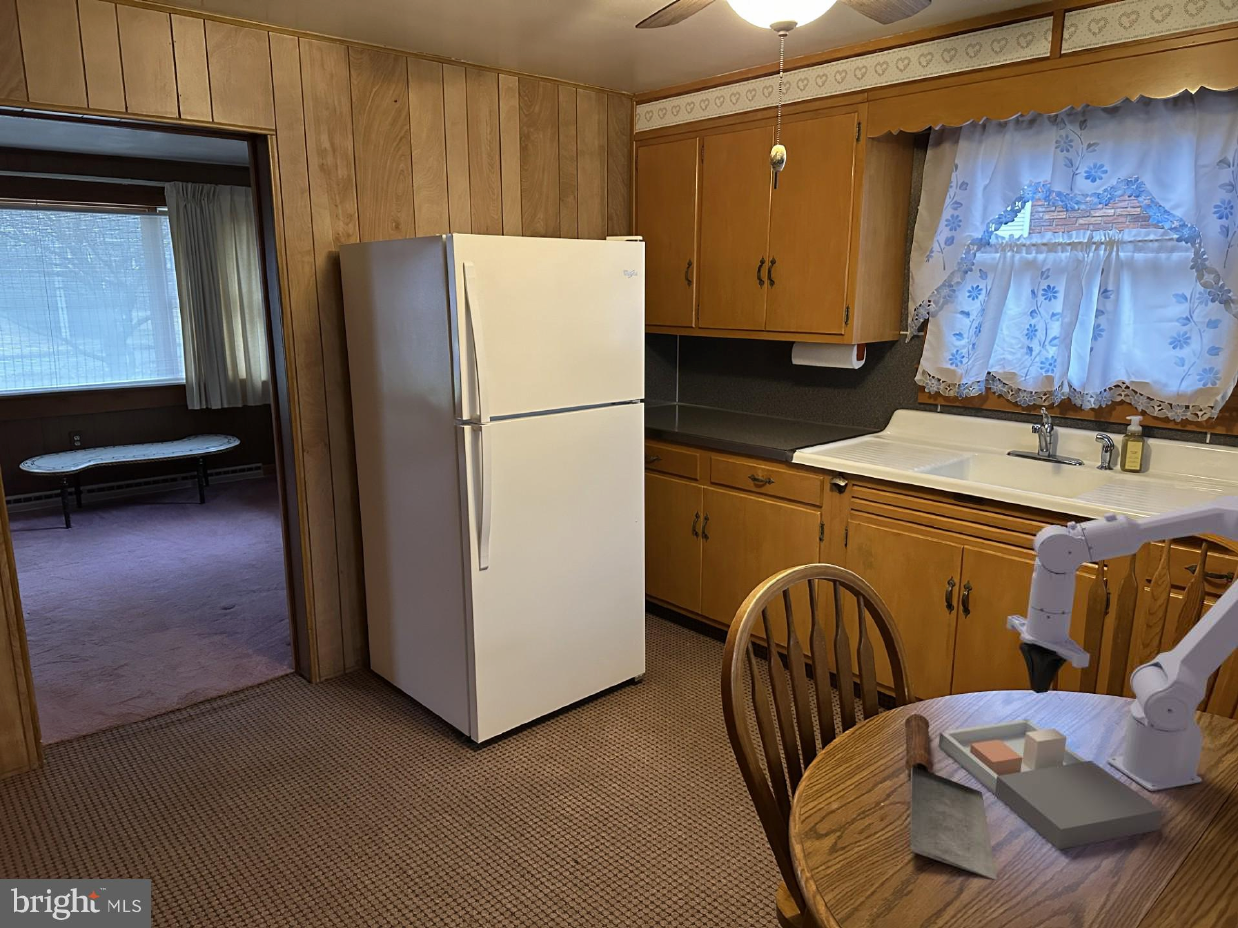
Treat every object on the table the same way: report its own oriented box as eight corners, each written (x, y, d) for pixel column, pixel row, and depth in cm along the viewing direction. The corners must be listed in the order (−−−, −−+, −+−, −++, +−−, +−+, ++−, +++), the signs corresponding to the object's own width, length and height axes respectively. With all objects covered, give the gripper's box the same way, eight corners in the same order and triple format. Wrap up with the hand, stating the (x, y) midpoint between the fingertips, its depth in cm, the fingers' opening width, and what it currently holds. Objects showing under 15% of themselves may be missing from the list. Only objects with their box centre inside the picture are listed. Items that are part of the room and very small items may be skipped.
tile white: (1062, 767, 125) (1050, 758, 127) (1066, 736, 124) (1054, 728, 126) (1034, 771, 124) (1022, 762, 126) (1038, 741, 123) (1025, 732, 125)
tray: (1024, 732, 135) (1026, 718, 135) (1088, 778, 123) (1090, 763, 123) (938, 746, 131) (939, 731, 131) (994, 794, 119) (996, 779, 119)
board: (1088, 778, 123) (1090, 760, 122) (1158, 829, 112) (1162, 809, 111) (994, 794, 119) (997, 775, 118) (1058, 849, 108) (1061, 828, 107)
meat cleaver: (1005, 883, 102) (1008, 853, 101) (907, 863, 105) (910, 834, 104) (977, 742, 134) (980, 719, 133) (902, 730, 137) (904, 708, 136)
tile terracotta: (1022, 757, 123) (1020, 772, 124) (999, 739, 128) (997, 754, 128) (993, 761, 122) (991, 777, 122) (970, 743, 127) (969, 758, 127)
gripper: (994, 591, 130) (985, 672, 133) (1064, 628, 117) (1052, 717, 120) (1032, 587, 132) (1022, 667, 135) (1106, 623, 119) (1093, 711, 122)
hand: (1039, 690), depth 128 cm, fingers closed
